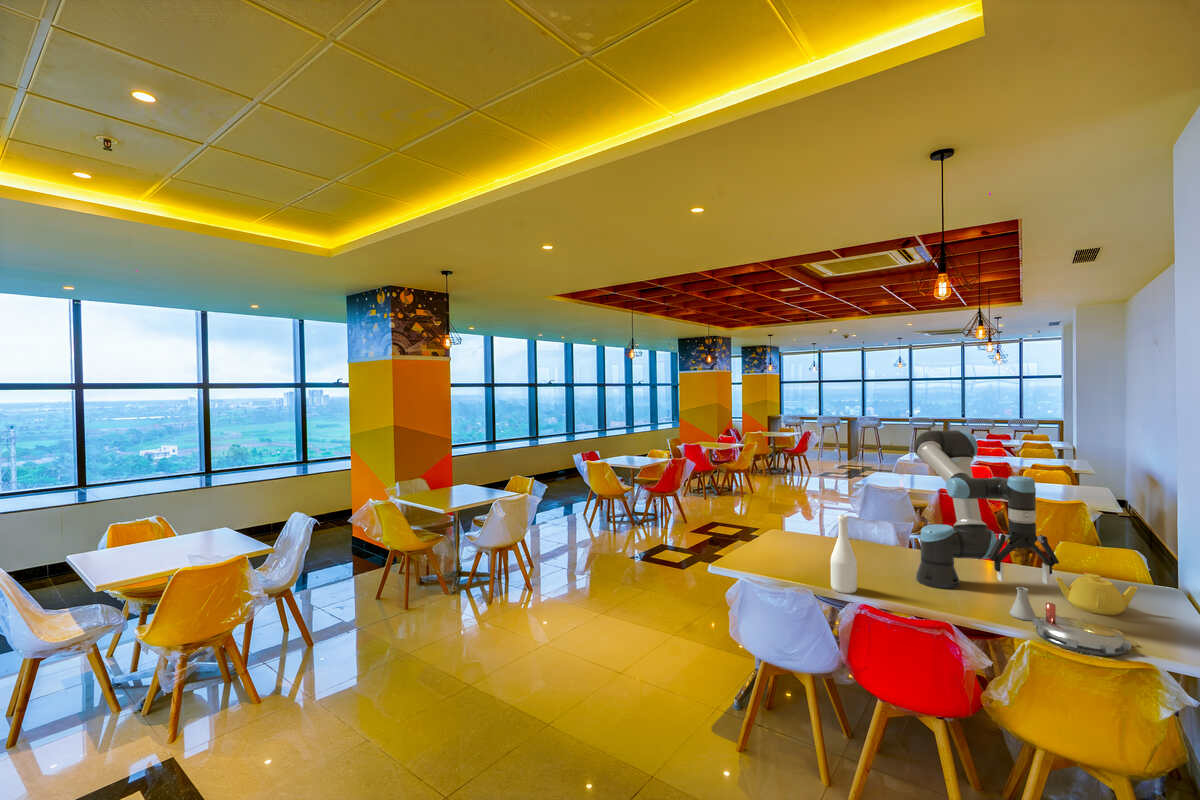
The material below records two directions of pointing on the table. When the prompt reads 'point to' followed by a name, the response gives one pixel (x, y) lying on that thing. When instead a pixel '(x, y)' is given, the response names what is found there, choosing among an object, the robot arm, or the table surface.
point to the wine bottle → (843, 561)
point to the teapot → (1096, 595)
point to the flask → (1022, 606)
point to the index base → (1087, 651)
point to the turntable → (1080, 632)
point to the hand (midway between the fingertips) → (1023, 582)
